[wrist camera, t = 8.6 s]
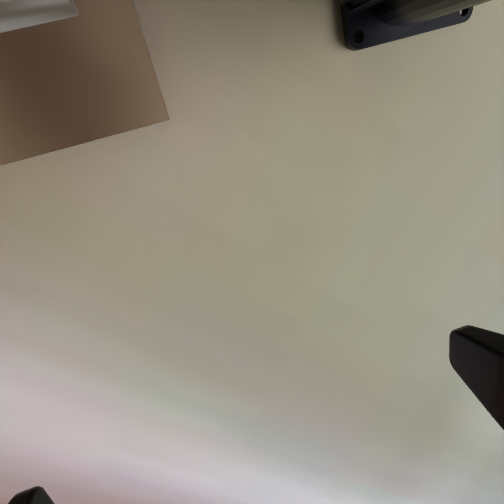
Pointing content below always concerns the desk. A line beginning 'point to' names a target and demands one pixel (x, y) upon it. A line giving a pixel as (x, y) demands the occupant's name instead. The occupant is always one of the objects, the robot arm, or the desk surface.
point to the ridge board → (72, 75)
